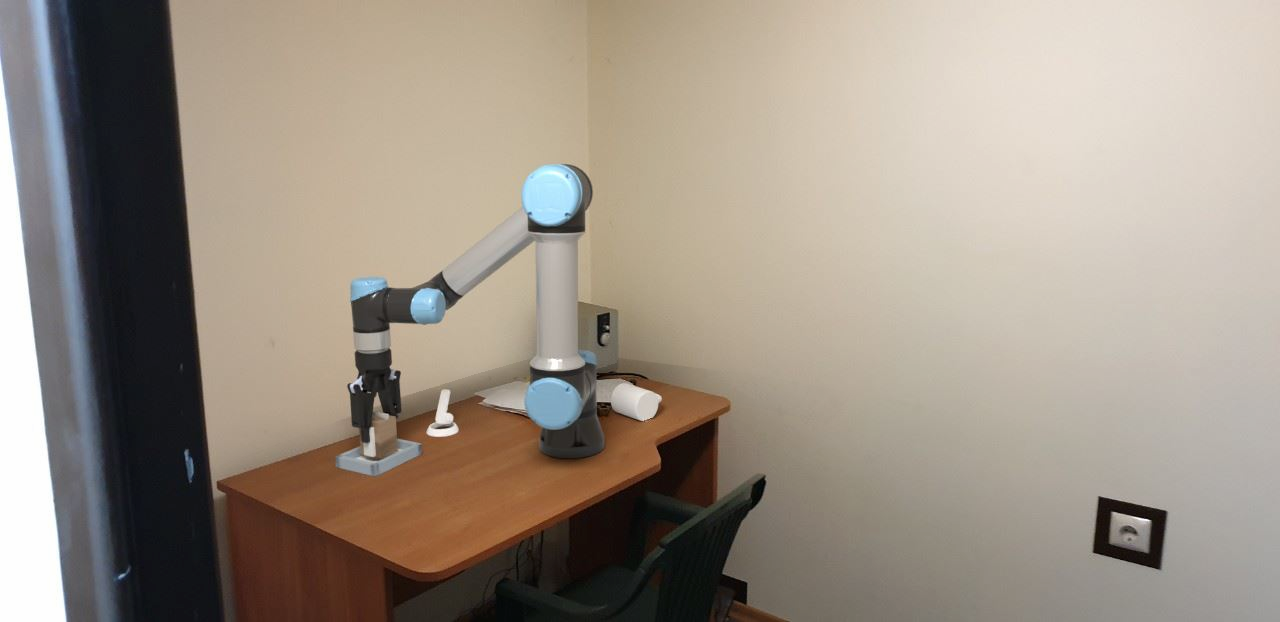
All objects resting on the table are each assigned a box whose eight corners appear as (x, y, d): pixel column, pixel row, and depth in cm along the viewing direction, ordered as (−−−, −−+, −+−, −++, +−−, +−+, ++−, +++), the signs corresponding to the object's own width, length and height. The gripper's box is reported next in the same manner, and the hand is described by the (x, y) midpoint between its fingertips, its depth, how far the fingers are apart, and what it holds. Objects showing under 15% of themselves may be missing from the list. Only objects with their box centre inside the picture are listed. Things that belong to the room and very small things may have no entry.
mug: (636, 424, 195) (636, 394, 193) (610, 415, 202) (610, 386, 200) (669, 414, 203) (670, 385, 201) (644, 405, 210) (644, 377, 208)
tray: (422, 453, 175) (421, 443, 174) (375, 476, 162) (374, 465, 162) (384, 445, 180) (383, 435, 179) (335, 467, 167) (335, 456, 167)
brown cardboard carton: (397, 450, 172) (395, 411, 170) (381, 458, 167) (378, 418, 165) (377, 446, 174) (375, 407, 172) (360, 453, 170) (358, 413, 168)
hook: (463, 400, 197) (465, 391, 191) (455, 445, 192) (457, 438, 186) (433, 395, 196) (434, 387, 189) (424, 441, 190) (426, 434, 184)
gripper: (389, 338, 176) (396, 435, 180) (326, 356, 160) (335, 462, 164) (415, 342, 172) (420, 440, 177) (353, 360, 156) (361, 468, 161)
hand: (379, 450), depth 171 cm, fingers closed on brown cardboard carton, 5 cm apart
